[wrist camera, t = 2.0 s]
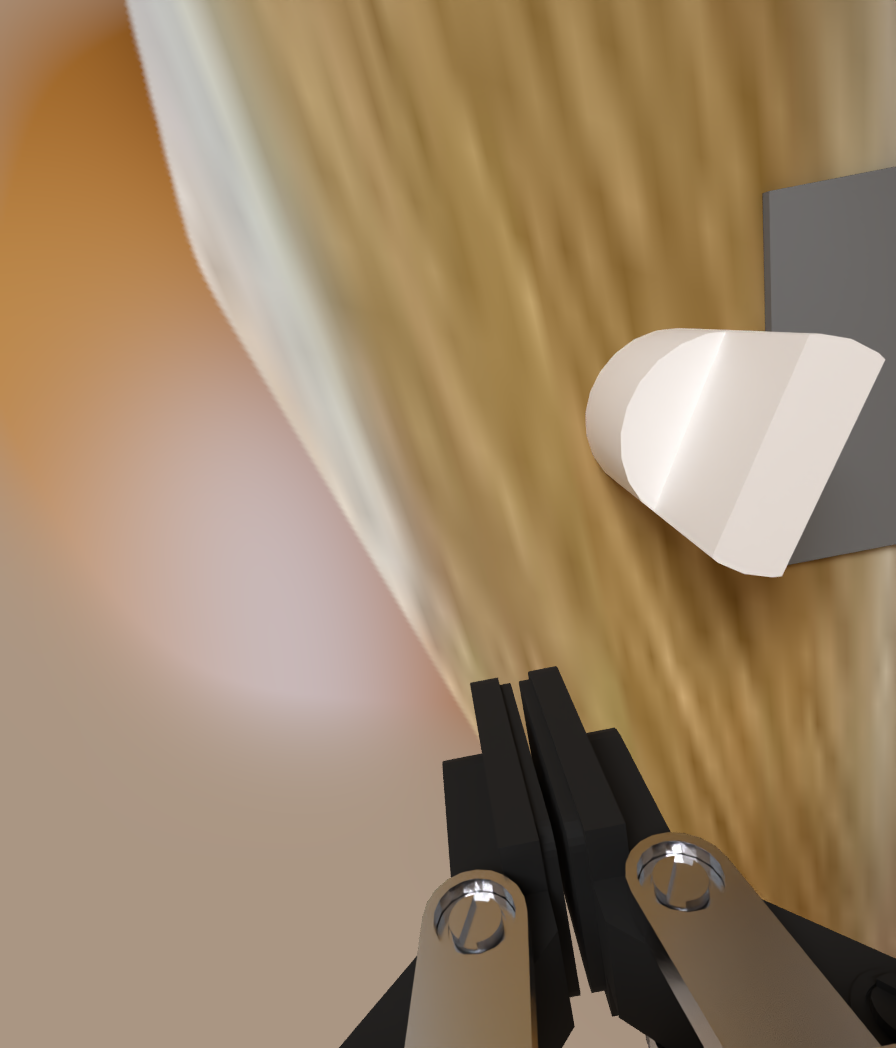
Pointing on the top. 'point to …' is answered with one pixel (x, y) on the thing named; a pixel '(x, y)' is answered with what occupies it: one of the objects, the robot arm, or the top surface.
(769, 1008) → the robot arm
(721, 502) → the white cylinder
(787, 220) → the mat
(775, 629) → the top surface
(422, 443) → the top surface
